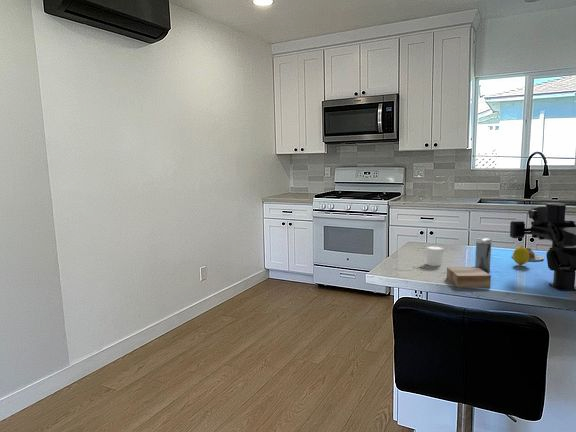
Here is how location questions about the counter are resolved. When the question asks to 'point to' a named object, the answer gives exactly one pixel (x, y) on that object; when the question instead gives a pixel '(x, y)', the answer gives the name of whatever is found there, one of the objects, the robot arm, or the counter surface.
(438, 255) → the shot glass
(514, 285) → the counter surface
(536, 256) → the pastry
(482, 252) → the tea tin
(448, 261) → the counter surface
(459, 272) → the walnut block
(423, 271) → the counter surface
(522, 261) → the lemon
